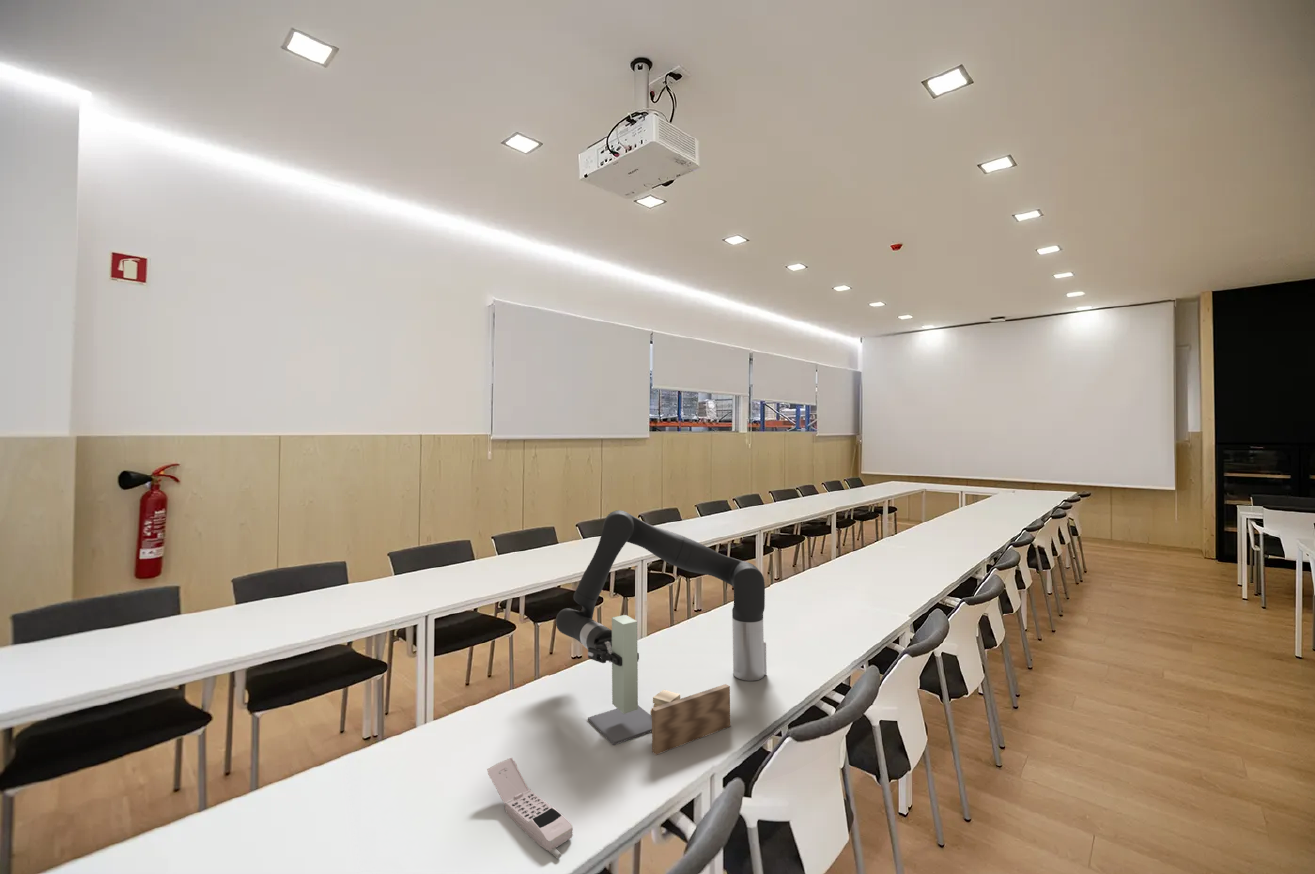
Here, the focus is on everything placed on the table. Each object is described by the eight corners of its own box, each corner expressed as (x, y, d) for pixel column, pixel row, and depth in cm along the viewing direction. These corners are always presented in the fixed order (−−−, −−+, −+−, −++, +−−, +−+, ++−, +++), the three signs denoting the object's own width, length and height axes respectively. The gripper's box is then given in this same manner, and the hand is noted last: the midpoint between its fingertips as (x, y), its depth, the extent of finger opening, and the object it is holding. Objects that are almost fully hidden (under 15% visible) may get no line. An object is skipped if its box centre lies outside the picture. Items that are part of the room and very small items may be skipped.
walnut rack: (710, 713, 144) (709, 674, 144) (730, 726, 138) (729, 686, 138) (637, 738, 132) (637, 697, 132) (655, 754, 126) (655, 710, 126)
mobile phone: (511, 755, 116) (581, 811, 98) (511, 784, 116) (582, 845, 98) (484, 768, 112) (552, 829, 94) (485, 797, 112) (553, 863, 94)
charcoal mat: (635, 704, 149) (634, 702, 149) (663, 727, 138) (663, 724, 138) (587, 719, 142) (587, 717, 142) (613, 744, 130) (613, 742, 130)
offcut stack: (661, 704, 150) (660, 688, 150) (683, 709, 147) (683, 692, 147) (649, 716, 144) (649, 698, 144) (673, 721, 141) (672, 703, 141)
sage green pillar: (626, 699, 143) (625, 614, 143) (637, 709, 138) (637, 621, 138) (612, 703, 141) (611, 617, 141) (623, 713, 136) (623, 624, 136)
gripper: (574, 630, 148) (603, 651, 133) (620, 620, 156) (653, 639, 141) (574, 658, 148) (603, 682, 134) (621, 647, 156) (653, 668, 141)
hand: (629, 659), depth 137 cm, fingers closed on sage green pillar, 4 cm apart
